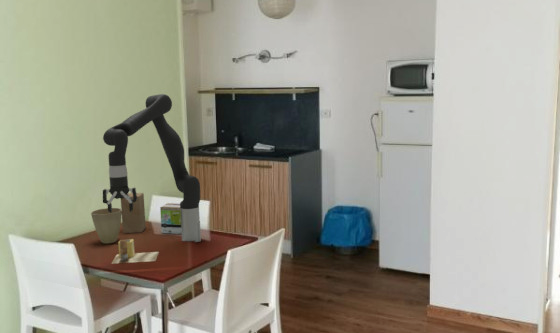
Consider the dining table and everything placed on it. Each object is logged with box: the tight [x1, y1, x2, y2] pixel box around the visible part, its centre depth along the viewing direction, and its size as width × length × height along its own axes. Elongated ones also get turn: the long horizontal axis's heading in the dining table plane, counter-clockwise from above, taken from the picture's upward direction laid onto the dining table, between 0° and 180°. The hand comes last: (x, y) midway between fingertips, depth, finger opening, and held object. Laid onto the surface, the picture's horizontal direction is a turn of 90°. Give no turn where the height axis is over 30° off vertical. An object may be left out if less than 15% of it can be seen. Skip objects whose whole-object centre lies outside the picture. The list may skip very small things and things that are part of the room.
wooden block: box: [120, 192, 147, 234], centre depth 302 cm, size 10×10×20 cm
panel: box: [111, 251, 160, 265], centre depth 251 cm, size 19×14×1 cm
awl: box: [119, 239, 128, 261], centre depth 246 cm, size 3×3×9 cm
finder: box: [117, 238, 136, 258], centre depth 253 cm, size 6×5×7 cm
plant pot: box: [90, 207, 122, 244], centre depth 282 cm, size 15×15×16 cm
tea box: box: [159, 202, 182, 235], centre depth 298 cm, size 15×10×15 cm
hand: (120, 211), depth 244 cm, fingers open, 8 cm apart
